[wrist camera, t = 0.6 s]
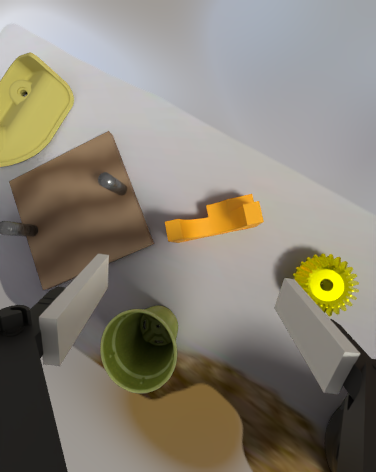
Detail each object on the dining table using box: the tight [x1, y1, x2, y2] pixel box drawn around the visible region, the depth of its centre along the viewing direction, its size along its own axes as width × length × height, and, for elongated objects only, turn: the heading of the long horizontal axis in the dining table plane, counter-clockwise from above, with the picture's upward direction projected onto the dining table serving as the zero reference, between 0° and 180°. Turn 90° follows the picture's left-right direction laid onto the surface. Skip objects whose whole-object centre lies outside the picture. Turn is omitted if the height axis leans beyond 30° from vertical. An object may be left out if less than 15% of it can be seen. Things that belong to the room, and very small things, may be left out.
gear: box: [293, 254, 359, 316], centre depth 29 cm, size 8×4×8 cm
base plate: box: [9, 131, 154, 290], centre depth 36 cm, size 20×20×1 cm
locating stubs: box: [0, 172, 127, 237], centre depth 33 cm, size 2×19×5 cm, turn 112°
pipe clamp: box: [165, 194, 264, 243], centre depth 30 cm, size 12×4×6 cm, turn 101°
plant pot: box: [100, 306, 178, 393], centre depth 29 cm, size 9×9×9 cm
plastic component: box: [0, 52, 74, 167], centre depth 38 cm, size 20×8×10 cm
